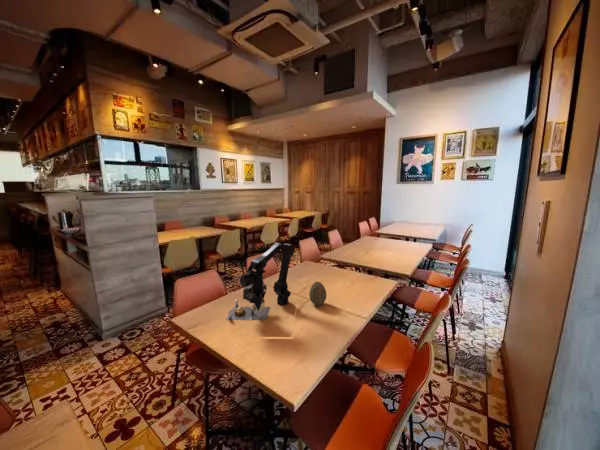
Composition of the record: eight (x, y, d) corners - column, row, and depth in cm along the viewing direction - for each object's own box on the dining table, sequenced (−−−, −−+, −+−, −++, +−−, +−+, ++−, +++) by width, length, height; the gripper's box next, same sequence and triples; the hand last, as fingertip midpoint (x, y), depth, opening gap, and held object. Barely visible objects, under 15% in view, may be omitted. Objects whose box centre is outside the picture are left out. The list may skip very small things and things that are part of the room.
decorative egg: (314, 299, 160) (313, 277, 157) (329, 302, 154) (329, 280, 152) (306, 306, 150) (306, 283, 148) (322, 310, 145) (321, 286, 143)
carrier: (270, 308, 149) (270, 299, 148) (266, 321, 134) (265, 311, 133) (234, 308, 150) (233, 299, 149) (225, 321, 135) (224, 311, 134)
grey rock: (255, 301, 158) (248, 288, 157) (244, 306, 160) (237, 293, 160) (261, 293, 168) (254, 281, 168) (251, 298, 171) (244, 286, 170)
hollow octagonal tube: (265, 305, 141) (265, 299, 141) (263, 310, 136) (263, 303, 135) (255, 305, 142) (255, 299, 141) (253, 310, 136) (252, 303, 135)
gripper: (248, 275, 146) (249, 299, 148) (239, 288, 127) (241, 315, 130) (266, 275, 145) (267, 299, 148) (260, 288, 127) (261, 315, 129)
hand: (259, 307), depth 139 cm, fingers closed on hollow octagonal tube, 6 cm apart
